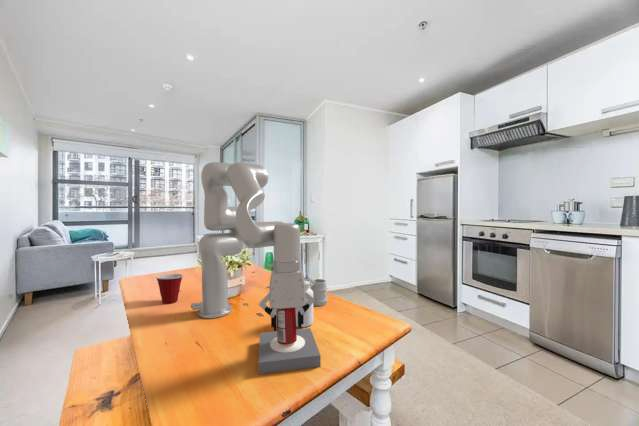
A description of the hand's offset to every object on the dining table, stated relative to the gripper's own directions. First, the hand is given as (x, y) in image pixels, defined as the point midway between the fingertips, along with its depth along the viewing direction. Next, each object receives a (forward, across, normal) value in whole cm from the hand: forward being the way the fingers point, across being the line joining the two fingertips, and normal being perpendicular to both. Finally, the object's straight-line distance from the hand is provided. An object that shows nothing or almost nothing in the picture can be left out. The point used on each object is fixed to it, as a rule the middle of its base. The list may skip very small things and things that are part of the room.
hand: (287, 327), depth 76 cm
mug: (+8, +15, +36) cm, 40 cm away
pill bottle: (+8, +7, +19) cm, 22 cm away
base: (+8, 0, 0) cm, 8 cm away
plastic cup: (+8, -48, +53) cm, 72 cm away
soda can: (+4, 0, 0) cm, 4 cm away
